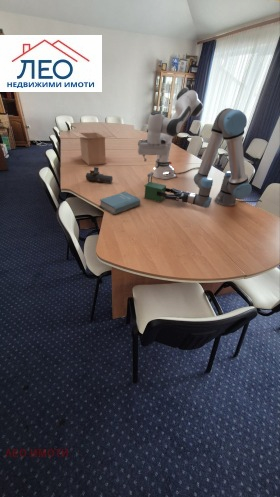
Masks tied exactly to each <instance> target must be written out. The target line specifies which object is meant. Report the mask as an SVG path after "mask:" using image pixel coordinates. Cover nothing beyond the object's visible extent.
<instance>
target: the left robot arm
mask: <svg viewBox="0 0 280 497" xmlns="http://www.w3.org/2000/svg"><path fill="white" fill-rule="evenodd" d="M203 109H204V105H203V103H202V102H201V100H200V99H199V96H198V93H197V91H195V90H194V89H188V88H187V87H183V88H181V89H180V90H179V91H178V92H177V95H176V100H175V103H174V111H175V112H174V114H173V115H172V116H171V117H167V116H165V115H163V112H162V111H160V110H154V111H153V110H152V111H151V112H150V113H149V117H148V122H147V130H148V131H147V135H146V139H143V138H142V139H139V140H138V141H137V146H138V147H137V154H138V155H139V156H142V157H143V162H144V163H145V162H147V158H146V156H156V159H155V165H154V167H153V170H154V171H153V173H154V174H153V175H152V177H154V178H156V179H162V180H169V179H173V178H177V175H180V174H184V173H187V172H190V171H192V170H195V169H199V168H200V166H199V167H193V168H190V169H188V170H186V171H182V172H177V173H176V172H175V169H174V168H173V167H172V166H171V165H172V164H173V162H172V161H169V158H170V152H171V147H172V142H173V139H174V137H177V136H178V135H179V134H180V132H181V130H182V129H183V127H184V125H185V124H186V122H187V121H188V120H189V118H197V117H198V116H199V115H201V113H202V112H203Z"/></svg>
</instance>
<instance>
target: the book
mask: <svg viewBox="0 0 280 497" xmlns="http://www.w3.org/2000/svg"><path fill="white" fill-rule="evenodd" d="M99 201H100V205H99V207H101V208H103V209H104V210H105V211H107V212H109V213H111V214H113V215H116V214H119V213H122V212H124V211H128V210H130V209H132V208H133V209H134V208H135V207H138V206H140V205H141V198H139V197H137V196H135V195H133V194H131V193H128V192H126V191H122V192H119V193H116V194H113V195H110V196H106V197H104V198H100V199H99Z"/></svg>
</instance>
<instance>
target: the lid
mask: <svg viewBox="0 0 280 497" xmlns="http://www.w3.org/2000/svg"><path fill="white" fill-rule="evenodd" d="M153 174H154V171H151V172H149V173H148V174H147V177H148V178H147V182H146V184H144V185H143V187H144V188H145V187H149V188H153V189H157V190H163V189H164V188H165V187H166V188H167V184H162V183H157V182H153Z"/></svg>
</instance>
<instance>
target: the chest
mask: <svg viewBox="0 0 280 497" xmlns="http://www.w3.org/2000/svg"><path fill="white" fill-rule="evenodd" d="M166 188H167V186H166V187H165V188H164V189H163V190H157V189H153V188H149V187H145V186H144V199H146V200H149V201H154V202H157V203H161V202H162V201H163V200H164V199H165V197H162V196H158V195H157V191H158V192H163V193H167V192H166Z"/></svg>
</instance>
